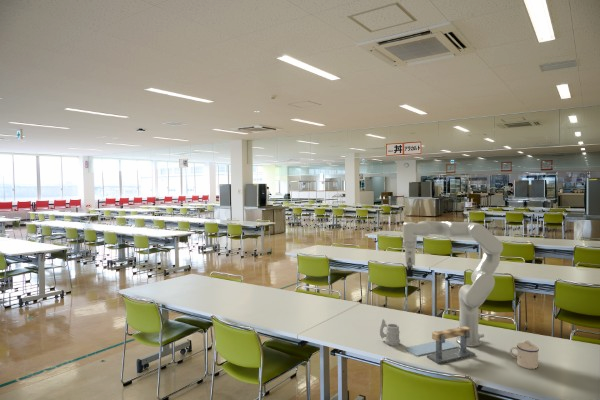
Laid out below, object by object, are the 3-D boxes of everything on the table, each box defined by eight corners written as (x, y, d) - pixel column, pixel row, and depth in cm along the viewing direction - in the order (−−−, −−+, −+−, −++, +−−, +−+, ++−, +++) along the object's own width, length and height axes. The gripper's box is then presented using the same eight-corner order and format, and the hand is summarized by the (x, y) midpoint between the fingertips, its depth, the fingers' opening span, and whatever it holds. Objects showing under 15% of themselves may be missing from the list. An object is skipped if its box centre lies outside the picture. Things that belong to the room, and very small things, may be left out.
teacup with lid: (539, 364, 185) (539, 340, 185) (537, 371, 178) (538, 346, 177) (511, 357, 192) (511, 334, 192) (508, 364, 185) (508, 340, 184)
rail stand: (463, 349, 202) (463, 325, 201) (475, 355, 194) (475, 330, 194) (426, 357, 192) (427, 331, 192) (438, 364, 185) (438, 337, 185)
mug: (396, 347, 204) (396, 325, 204) (376, 341, 212) (376, 320, 212) (402, 343, 210) (402, 321, 210) (383, 337, 218) (383, 316, 218)
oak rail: (465, 332, 199) (465, 326, 198) (470, 334, 196) (470, 328, 196) (432, 338, 190) (432, 332, 190) (436, 340, 187) (436, 334, 187)
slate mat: (445, 340, 214) (445, 339, 214) (458, 347, 204) (458, 346, 204) (403, 348, 203) (403, 347, 203) (416, 356, 194) (416, 355, 194)
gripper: (417, 246, 205) (417, 278, 206) (416, 242, 222) (416, 271, 222) (402, 246, 207) (402, 277, 208) (403, 242, 224) (403, 271, 224)
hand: (409, 274), depth 215 cm, fingers open, 9 cm apart
